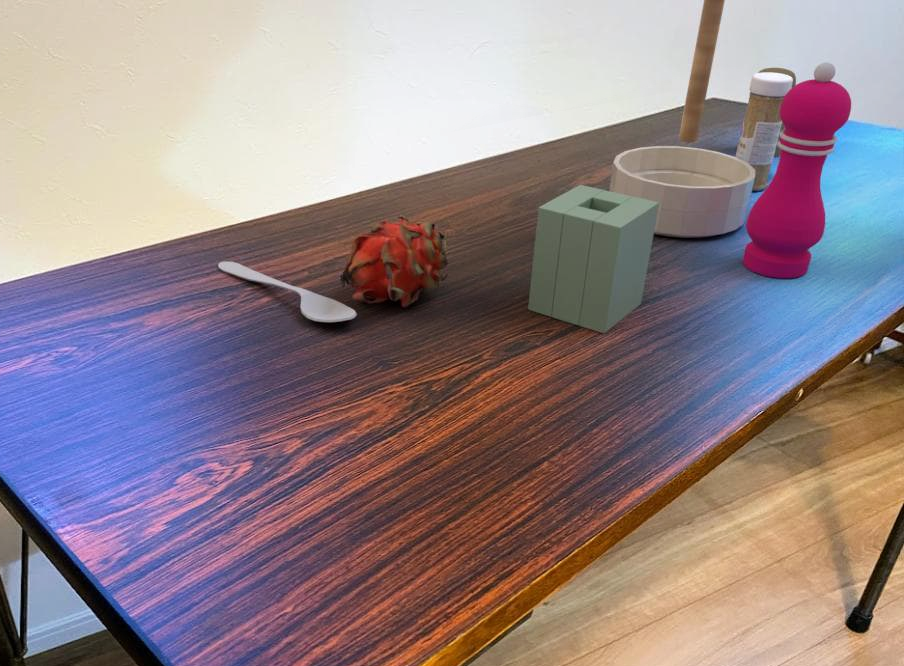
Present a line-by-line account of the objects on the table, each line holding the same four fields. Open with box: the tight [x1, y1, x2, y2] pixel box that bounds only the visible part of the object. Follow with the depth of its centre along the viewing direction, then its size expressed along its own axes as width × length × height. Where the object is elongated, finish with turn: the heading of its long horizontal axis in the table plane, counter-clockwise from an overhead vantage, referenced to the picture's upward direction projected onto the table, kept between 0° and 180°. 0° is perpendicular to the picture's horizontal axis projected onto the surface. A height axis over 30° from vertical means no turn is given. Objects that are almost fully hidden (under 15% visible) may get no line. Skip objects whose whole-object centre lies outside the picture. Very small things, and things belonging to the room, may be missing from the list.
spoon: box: [217, 261, 358, 323], centre depth 87 cm, size 4×21×2 cm, turn 42°
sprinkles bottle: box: [735, 72, 793, 192], centre depth 111 cm, size 5×5×13 cm
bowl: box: [608, 145, 755, 239], centre depth 104 cm, size 15×15×6 cm
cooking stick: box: [678, 0, 726, 143], centre depth 95 cm, size 2×2×20 cm
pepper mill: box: [742, 62, 852, 279], centre depth 88 cm, size 7×7×20 cm
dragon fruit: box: [339, 214, 449, 308], centre depth 85 cm, size 8×8×12 cm
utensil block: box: [527, 184, 659, 334], centre depth 82 cm, size 8×8×10 cm
